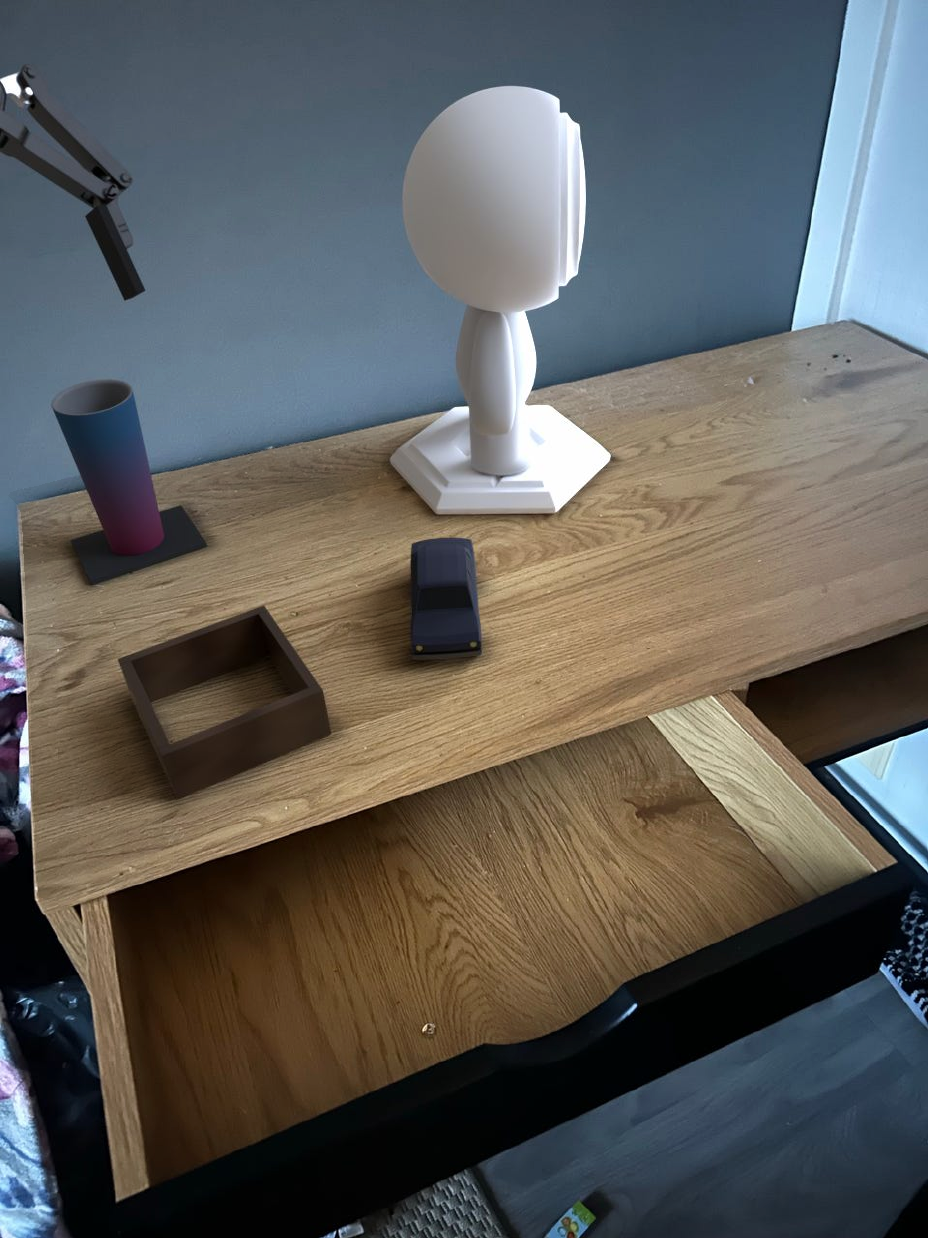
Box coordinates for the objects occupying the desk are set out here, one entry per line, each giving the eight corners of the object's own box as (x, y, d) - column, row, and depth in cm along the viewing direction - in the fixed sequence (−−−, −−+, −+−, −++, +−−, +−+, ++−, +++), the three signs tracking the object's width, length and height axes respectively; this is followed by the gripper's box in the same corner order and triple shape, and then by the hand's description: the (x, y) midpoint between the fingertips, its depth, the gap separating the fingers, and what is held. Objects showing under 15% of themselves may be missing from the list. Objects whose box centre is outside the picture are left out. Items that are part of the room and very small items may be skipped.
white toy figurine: (615, 513, 94) (636, 110, 72) (378, 515, 96) (328, 123, 74) (605, 415, 109) (620, 59, 87) (401, 419, 111) (365, 71, 89)
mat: (91, 585, 89) (89, 581, 89) (71, 544, 95) (70, 539, 94) (207, 546, 93) (206, 542, 93) (182, 508, 99) (181, 504, 98)
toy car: (411, 672, 78) (405, 624, 75) (411, 565, 89) (406, 518, 86) (485, 667, 78) (482, 618, 75) (475, 560, 89) (473, 514, 86)
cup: (168, 514, 97) (128, 373, 88) (178, 550, 92) (136, 404, 83) (98, 531, 95) (49, 388, 86) (103, 568, 90) (52, 421, 81)
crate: (177, 800, 69) (161, 755, 66) (133, 701, 77) (117, 658, 74) (331, 734, 73) (323, 689, 70) (273, 647, 81) (264, 604, 78)
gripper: (55, 6, 74) (179, 284, 81) (-314, 65, 61) (-129, 390, 68) (86, -41, 68) (217, 263, 75) (-315, 13, 55) (-112, 375, 62)
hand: (53, 324), depth 72 cm, fingers open, 13 cm apart
